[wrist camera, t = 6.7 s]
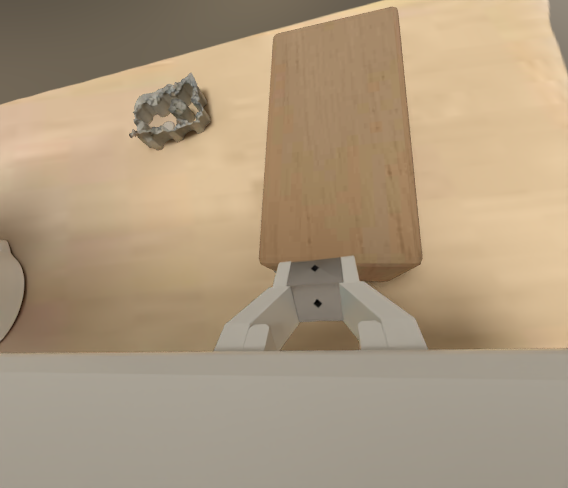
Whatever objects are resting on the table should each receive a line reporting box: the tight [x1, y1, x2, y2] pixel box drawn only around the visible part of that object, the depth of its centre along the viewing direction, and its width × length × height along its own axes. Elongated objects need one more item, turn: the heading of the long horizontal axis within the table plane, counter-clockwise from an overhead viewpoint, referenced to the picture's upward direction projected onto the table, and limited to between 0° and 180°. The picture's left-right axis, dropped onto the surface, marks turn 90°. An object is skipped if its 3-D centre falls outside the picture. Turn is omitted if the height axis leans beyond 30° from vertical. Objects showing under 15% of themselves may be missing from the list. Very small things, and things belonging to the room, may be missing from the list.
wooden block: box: [259, 7, 422, 281], centre depth 22 cm, size 10×10×20 cm
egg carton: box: [129, 73, 211, 150], centre depth 34 cm, size 11×8×4 cm
